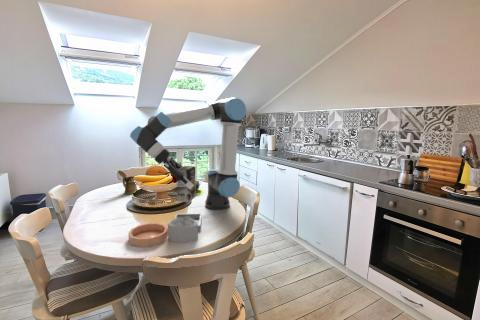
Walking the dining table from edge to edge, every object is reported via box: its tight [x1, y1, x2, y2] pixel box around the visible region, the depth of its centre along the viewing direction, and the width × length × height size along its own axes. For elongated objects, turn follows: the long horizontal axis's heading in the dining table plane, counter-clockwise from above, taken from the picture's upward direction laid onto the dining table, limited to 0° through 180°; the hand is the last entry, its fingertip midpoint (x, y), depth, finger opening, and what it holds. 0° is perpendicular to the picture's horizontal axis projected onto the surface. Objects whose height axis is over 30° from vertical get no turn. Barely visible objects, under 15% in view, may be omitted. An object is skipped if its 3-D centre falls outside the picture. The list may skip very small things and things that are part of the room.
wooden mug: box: [117, 170, 138, 195], centre depth 175 cm, size 9×14×18 cm, turn 153°
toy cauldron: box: [196, 178, 205, 196], centre depth 182 cm, size 15×15×11 cm
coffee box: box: [176, 165, 197, 203], centre depth 124 cm, size 9×6×16 cm
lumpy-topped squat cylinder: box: [167, 216, 199, 244], centre depth 113 cm, size 10×13×9 cm
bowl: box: [128, 222, 168, 248], centre depth 112 cm, size 16×16×4 cm
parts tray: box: [173, 212, 203, 231], centre depth 127 cm, size 14×16×2 cm
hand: (192, 184), depth 124 cm, fingers closed on coffee box, 10 cm apart
